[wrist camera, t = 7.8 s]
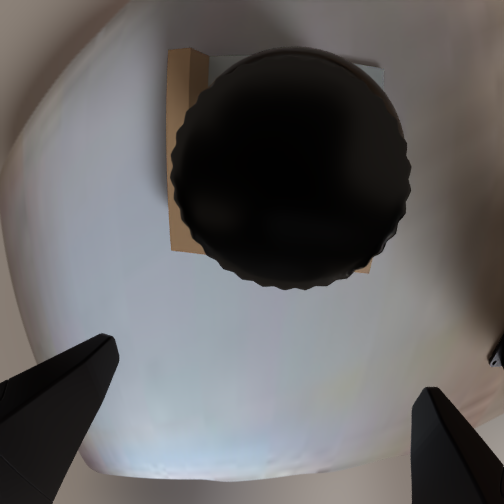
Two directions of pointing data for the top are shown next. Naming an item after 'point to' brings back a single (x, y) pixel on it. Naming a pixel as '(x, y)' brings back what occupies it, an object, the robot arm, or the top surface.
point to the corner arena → (184, 97)
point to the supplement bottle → (291, 168)
